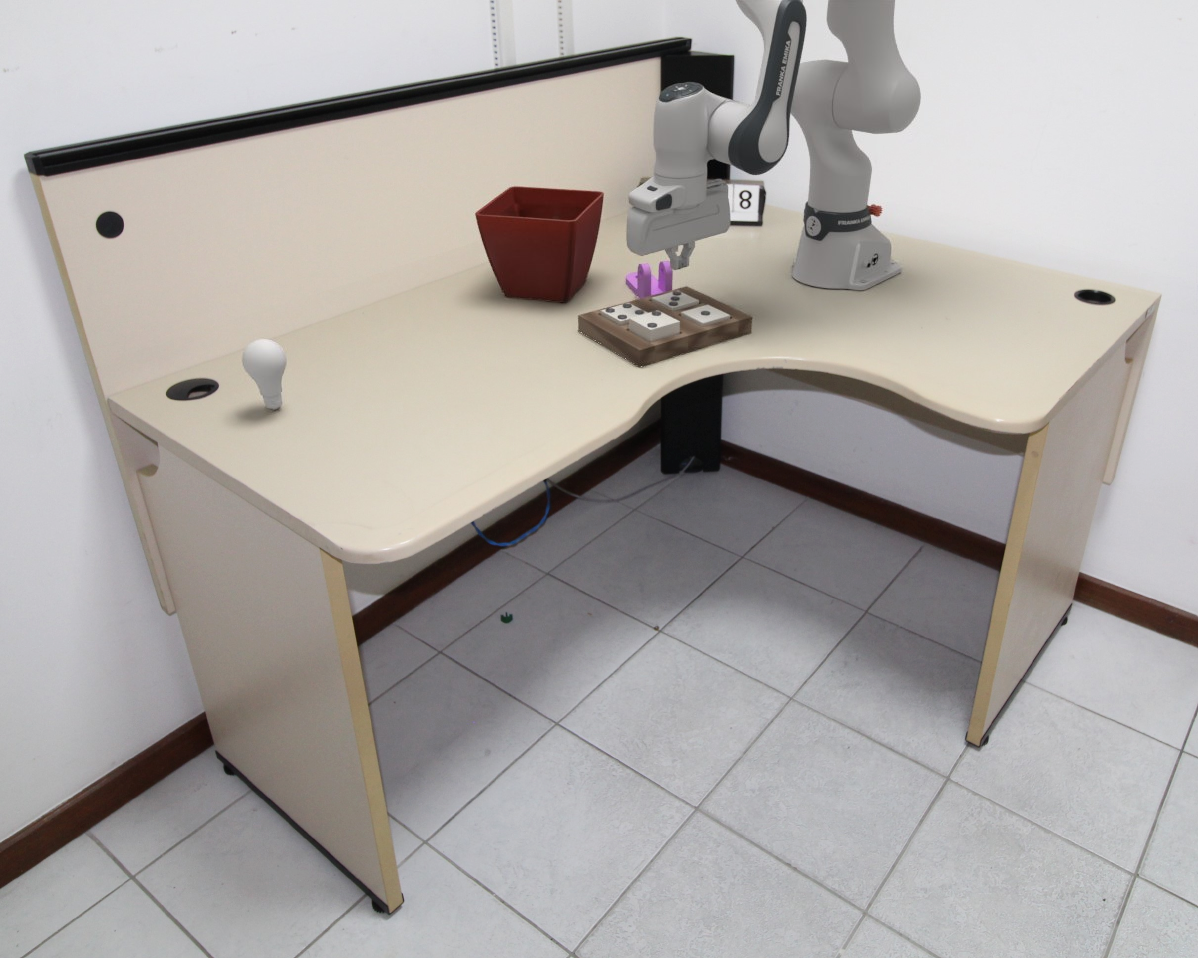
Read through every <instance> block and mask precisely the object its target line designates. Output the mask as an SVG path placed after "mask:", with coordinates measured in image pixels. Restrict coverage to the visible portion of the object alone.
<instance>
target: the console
mask: <svg viewBox="0 0 1198 958" xmlns="http://www.w3.org/2000/svg"><path fill="white" fill-rule="evenodd" d="M675 291H680V292H682V293H684V294H686V295H688V296H691V297H693V298H695V299H697V300H699V304H698V305H694V306H690V307H687V308H683V309H680V310H676V311H673V312H671V311H669V310H667V309H665V308H663V307H661V306H659V305H657V304H655V303H653V302H651V299H652V297H656V296H660V295H663V294H667V293H671V292H675ZM627 303H630V304H632V305H634V306H636V307H638V308H640V309H642V310H644V311H645V312H647V313H650V312H653V311H657V310H658V311H660V312H662V313H664V314H666V315H668V316H670V317H672V318H674V319H676V320H678V321H680V334H678V335H674V336H671V337H668V338H664V339H661V340H657V341H654V342H651V343H650V342H648V341H646V340H644V339H642V338H641V337H639V336H637V335H635V334H633V333H632V332H630V331H629V324H626V325H623V326H619V325H617V324H615V323H613V322H612V321H610V320H608V319H606V318H604V317H603V316H601V310H604V309H608V308H612V307H615V306H619V305H623V304H627ZM705 305H710V306H712V307H714V308H716V309H718V310H720V311H722V312H725V313H727V314H729V315H730V319H729V320H725V321H722V322H718V323H715V324H712V325H708V326H705V327H701V326H699V325H697V324H695V323H693V322H691V321H689V320H687V319H685V318H683V317H681V312H683V311H687V310H690V309H694V308H697V307H701V306H705ZM753 319H754V318H753V315H750V314H749V313H746V312H744V311H741V310H740V309H737V308H735V307H732V306H731V305H728V304H726V303H724V302H722V301H720V300H718V299H715V298H714V297H711V296H709V295H707V294H705V293H702V292H700V291H698V290H695V289H694V288H692V287H689V286H687V285H686V286H682V287H680V288H679V287H678V288H676V289H675V288H674V289H672V290H671V291H667V292H663V293H659V294H656V295H652V296H648V297H644V298H641V299H639V298H638V299H634V300H631V301H626V302H622V303H620V304H619V303H618V304H614V305H611V306H608V307H603V308H600V309H597V310H592V311H589V312H585V313H581V314H577V323H578V325H577V328H578V330H577V331H578V332H579V331H580V332H582V333H583V334H582V333H581V334H582V335H584V334H585V335H587V336H589V337H590V338H589V337H588V338H589V339H591V338H592V339H594V340H596V341H597V342H599V343H601V344H602V345H604V346H606V347H607V348H606V347H605V348H606V349H608V348H609V349H610V350H609V349H608V350H609V351H611V350H612V351H611V352H613V351H614V352H616V353H617V354H616V353H615V354H616V355H618V354H619V355H620V357H621V356H622V357H621V358H623V357H624V358H623V359H625V358H626V359H627V361H628V360H629V361H628V362H630V363H631V362H632V363H631V364H633V363H634V364H633V365H635V366H636V365H637V366H636V367H638V368H642V367H645V366H648V365H652V364H655V363H658V362H662V361H665V360H667V358H668V359H671V358H674V356H675V357H677V356H680V355H685V354H687V352H688V353H690V352H694V351H696V350H700V349H703V348H704V349H705V348H707V347H710V346H713V345H716V344H719V343H723V342H726V341H729V340H732V339H735V338H739V337H742V336H745V335H749V334H752V330H753ZM580 332H579V333H580ZM585 335H584V336H585ZM587 336H586V337H587ZM592 339H591V340H592ZM594 340H593V341H594ZM596 341H595V342H596ZM597 342H596V343H597ZM599 343H598V344H599ZM601 344H600V345H601ZM602 345H601V346H602ZM604 346H603V347H604ZM614 352H613V353H614ZM619 355H618V356H619ZM626 359H625V360H626ZM664 359H665V360H664ZM661 360H662V361H661ZM651 363H652V364H651ZM641 366H642V367H641Z"/></svg>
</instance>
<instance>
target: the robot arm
mask: <svg viewBox="0 0 1198 958" xmlns="http://www.w3.org/2000/svg"><path fill="white" fill-rule="evenodd" d="M735 2H736V4H737V5H738V7H739V9H740V10H741V13H743V15H744V16H745V17H746V18H747V19H748V20H750V21H751V22H752V23H753V25H755V26H756V28H757V29H758V31H759V32H760V34H761V37H762V41H763V54H762V60H761V67H760V71H759V76H758V80H757V86H756V90H755V91H756V92H755V96H754V99H753V101H752V103H751V104H748V103H744V102H740V101H737V100H734V99H730V98H727V97H723V96H720V95H718V94H716V93H712V92H710V91H709V90H707V89H706V88H705V87H704V85H702V84H701V83H698V82H694V81H693V82H692V81H686V82H682V83H681V82H679V83H675V84H672V85H669V86H667V87H666V88H664V89H663V90H661V92H660V93H659V94H658V97H657V99H656V103H655V106H654V107H655V108H654V115H653V132H652V133H653V136H652V137H653V147H654V153H655V162H654V166H653V176H652V177H650V178H649V179H648V180H647V181H645V182H644V183H642V184H641V185H639V186H638V187H636V188H634V189H633V190H632V191H630V192H629V194H628V203H629V205H630V206H632V207H631V208H630V210H629V211H628V214H627V217H626V218H627V219H626V231H625V232H626V236H625V237H626V247H627V249H628V250H629V251H630V252H631V253H633V254H635V255H636V256H639V257H644V256H648V255H651V254H655V253H657V252H659V253H660V252H661V251H664V252H665V253H666V255H667V257H668V259H669V261H670V267H671V269H672V270H674V271H677V270H681V269H684V268H688V267H689V266H690V257H691V255H692V254H693V251H694V249H695V248H696V241H700V240H704V239H708V238H710V237H715V236H718V235H721V234H726V233H727V232H728V231H729V229H730V227H731V206H730V199H729V184H727V182H726V181H725V180H722V178H716V179H714V180H711V181H709V180H708V162H709V161H710V160H716V161H718V162H721V163H723V164H727V165H730V166H733V167H735V168H736V169H739V170H740V171H742V172H745V173H747V174H748V175H752V176H761V175H763V174H765V173H767V172H769V171H771V170H772V169H773V168H774V167H776V166H777V165H778V164H779V163H780V161H781V160H782V159H783V157H784V156H785V154H786V152H787V149H788V146H789V141H790V128H791V127H790V126H791V125H790V124H791V116H792V117H793V118H794V119H795V121H796V122H797V124H798V125H799V127H800V129H801V131H802V133H803V137H804V139H805V142H806V146H807V149H808V155H809V184H808V194H807V201H806V202H805V204H804V208H803V209H804V210H803V218H802V219H803V220H802V221H803V227H802V229H801V234H800V238H799V242H798V247H797V252H796V257H795V258H794V259H793V262H792V266H793V268H792V270H791V275H792V277H793V278H794V280H796V281H798V282H800V283H801V284H805V285H807V286H812V287H817V288H825V289H845V290H847V289H849V290H854V291H866V290H868V289H869V288H872V287H874V286H877V284H880V283H882V282H884V281H885V280H888V279H890V278H892V277H894V276H896V275H898V274H900V273H902V270H903V266H901V265H900V264H899V262H896V261H895V260H892V243H891V241H890V239H889V238H888V237H887V236H886V235H885V234H884V233H882V232H881V230H879V229H878V228H877V227H876V226H875V225H874V224H873V223H872V222H873V221H872V215H873V216H874V217H877V218H878V217H881V214H883V207H882V206H881V205H876V204H875V203H873V204H871V205H868V203H869V194H870V188H871V181H872V180H871V178H872V173H873V166H872V162H871V160H870V158H869V156H868V155H867V154H866V153H865V152H864V151H863V150H862V149H860V147H859V146H858V144H857V142H856V141H855V140H856V139H855V138H854V135H853V131H854V132H855V131H856V132H859V133H867V134H868V133H869V134H871V135H872V134H873V135H881V134H885V135H886V134H895V133H896V134H897V133H901V132H903V131H904V130H905V129H907V128H908V127H909V126H910V125H911V124H912V122H913V121H914V119H915V118H916V117H917V115H918V112H919V109H920V105H921V98H922V97H921V89H920V85H919V82H918V80H917V78H916V77H915V76H914V75H913V74H912V73H911V71H910V70H908V68H907V66H906V65H905V62H904V61H903V59H902V57H901V55H900V52H899V48H898V45H897V40H896V36H895V29H894V27H895V25H894V23H895V20H894V19H895V8H896V7H895V6H896V0H827V7H826V8H827V9H826V10H827V11H826V25H827V27H828V29H829V31H830V33H831V34H832V35H833V36H835V38H836V39H838V40H839V41H840V42H841V44H842V46H843V47H844V49H845V52H846V54H847V55H846V56H847V61H848V62H847V61H841V60H832V59H817V60H810V61H809V60H808V61H802V62H801V60H802V54H803V49H804V43H805V39H806V38H805V37H806V31H807V21H808V20H807V9H806V6H805V5H804V0H735ZM679 246H682V249H681V252H680V255H677V253H678V252H679Z"/></svg>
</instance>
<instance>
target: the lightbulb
mask: <svg viewBox="0 0 1198 958" xmlns="http://www.w3.org/2000/svg"><path fill="white" fill-rule="evenodd" d="M241 363H242V367H243V369H244V371H245V372H246V373H247V374H248V376H250V378H251V379H252V380H253V381H254V383H255V384H256V386H257V388H258V390H259V393H260V395H261V396H262V399H263V403H264V405H265V408H267V409H270V410H273V411H274V410H277V409H279V408H280V407H281V406H282V405H283V396H282V392H283V386H282V385H283V384H282V380H283V376H284V373H285V370H286V368H287V355H286V353H285V350H284V349H283V347H282V346H281V345H279V343H277V342H275V341H274V340H271V339H266V338H260V339H255V340H254V341H252V342H250V343H249V344H248V345H247V346H246V347H245V348H244V351H243V353H242V356H241Z"/></svg>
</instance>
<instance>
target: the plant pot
mask: <svg viewBox="0 0 1198 958" xmlns="http://www.w3.org/2000/svg"><path fill="white" fill-rule="evenodd" d="M604 194H605V192H603V191H601V190H599V191H597V190H584V189H583V190H582V189H567V188H566V189H565V188H553V187H552V188H549V187H537V186H536V187H535V186H533V187H532V186H516V185H514V186H510V187H508V188H507V189H505V190H504V191H503V192H501V193H500V194H498V195H497V196H496V197H494V198H493V199H492V200H491V201H489V202H488V203H487V204H485V205H484V206H482V207H481V208H480V209H478V210H477V211H475V213H474V215H475V219H476V224H477V228H478V232H479V235H480V239H481V242H482V245H483V248H484V250H485V254H486V256H487V260H488V261H489V265H490V266H491V269H492V271H493V274H494V276H495V278H496V281H497V283H498V285H499V288H500V289H501V292H502V294H503V295H504V297H506V298H509V299H522V300H523V299H524V300H536V301H546V302H556V303H566V302H568V301H569V300H571V298H572V297H573V296H574V295H575V294H576V293H577V292H578V290H579V289H580V288H582V286H583V285H584V284H585V282H587V279H588V275H589V272H590V269H591V265H592V261H593V258H594V254H595V252H596V251H595V250H596V246H597V243H598V237H599V231H600V227H601V222H602V221H601V220H602V213H603V212H602V211H603V205H604V197H605V195H604Z"/></svg>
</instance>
